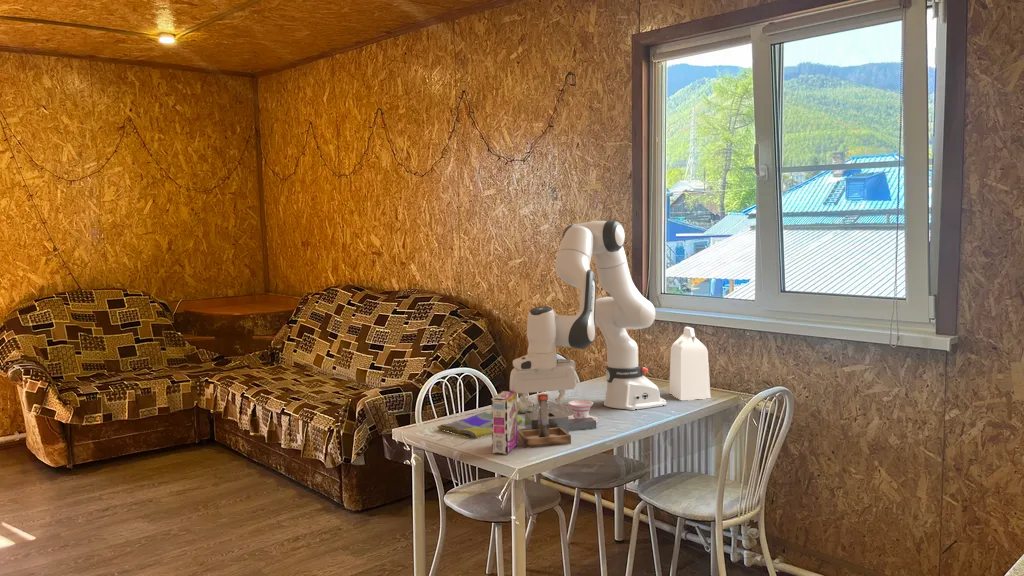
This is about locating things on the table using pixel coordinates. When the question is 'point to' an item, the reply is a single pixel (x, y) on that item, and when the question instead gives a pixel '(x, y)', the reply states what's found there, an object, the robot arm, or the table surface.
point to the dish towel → (472, 426)
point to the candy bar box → (504, 422)
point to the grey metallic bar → (543, 415)
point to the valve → (524, 406)
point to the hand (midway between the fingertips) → (543, 405)
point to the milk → (689, 368)
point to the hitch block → (559, 421)
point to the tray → (555, 437)
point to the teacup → (580, 409)
